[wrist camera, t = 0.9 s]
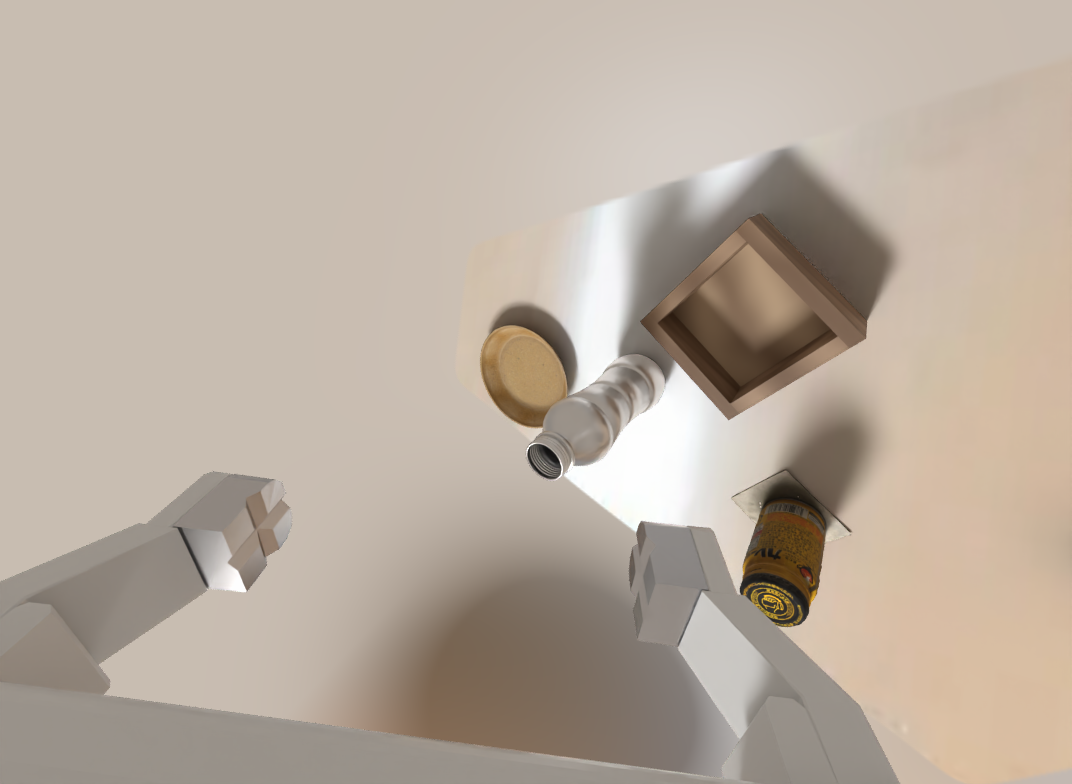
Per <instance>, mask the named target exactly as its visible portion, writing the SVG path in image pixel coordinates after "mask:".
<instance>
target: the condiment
mask: <svg viewBox="0 0 1072 784" xmlns="http://www.w3.org/2000/svg"><path fill="white" fill-rule="evenodd" d="M798 496H799V497H798ZM731 499H732V500H733V501H734V502H735V503H736V504H737V505H738V506H739V507H740V508H741V509H742V511H743V512H744V513H745V514H747V515H748V517H749V518H750V519H751V520H752V521H753V522H754V523H755V524H756V526H755V530H754V533H753V536H752V539H751V542H750V545H749V547H748V551H747V553H746V557H745V559H744V563H743V574H744V575H743V581H742V583H741V586H740V593H741V595H744V596H746V597H747V598H748V599H749V600H750V601H751V602H752V603H753V604H754V605H755V606H756V607H757V608H758V609H759V610H760V611H761V612H763V613H764V614H765V615H766V616H767V617H768V618H769V619H770V620H771V621H772V622H773V623H774V624H775V625H777V626H781V627H791V626H796V625H800V624H801V623H802V622H803V621H805V619H806V618H807V616H808V613H809V607H810V604H811V602H812V601H813V600H814V598H815V596H816V594H817V589H818V587H819V582H820V580H819V576H820V572H821V568H822V566H821V564H822V557H823V551H824V544H825V543H827V542H830V541H834V540H837V539H840V538H843V537H845V536H848V535H851V533H850V532H849V531H848V530H847V529H846V528H845V527H844V526H843V525H842V524H841V523H840V522H839V521H838V520H837V519H836V518H835V517H833V515H832V514H831V513H830V512H829V511H828V510H827V509H826V508H824V506H823V505H822V504H820V503H819V502H818V501H817V500H816V499H815V498H814V497H813V496H812V495H811V494H810V493H809V492H808V491H807V490H806V489H805V488H804V487H803V486H802V485H801V484H800V483H799V482H798V481H797V480H795V479H794V478H793V477H792V476H791V475H790V474H789V473H788V472H787V471H786V470H785V471H783V472H781V473H779V474H776V475H775V476H772V477H770V478H769V479H767V480H764V481H763V482H761V483H759V484H757V485H755V486H752V487H751V488H749V489H747V490H746V491H744V492H741V493H740V494H738V495H736V496H734V497H732V498H731ZM759 502H761V505H760V504H759ZM760 506H762V507H761V508H760Z"/></svg>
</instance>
